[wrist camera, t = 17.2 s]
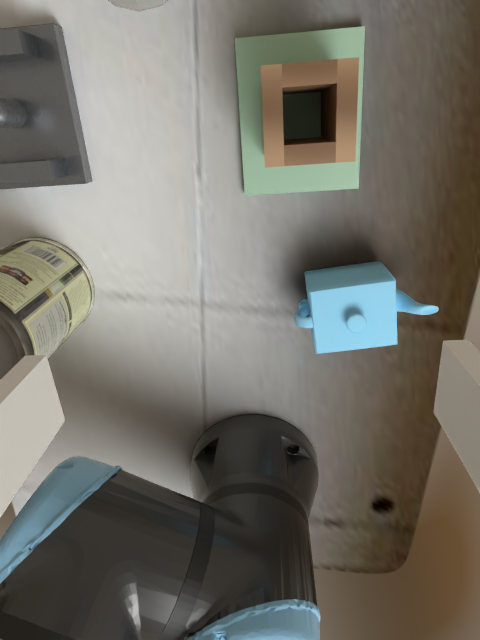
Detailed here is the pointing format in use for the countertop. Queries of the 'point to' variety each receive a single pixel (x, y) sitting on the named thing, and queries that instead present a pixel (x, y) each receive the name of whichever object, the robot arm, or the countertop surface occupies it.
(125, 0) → the french press
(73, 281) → the coffee can
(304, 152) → the sleeve
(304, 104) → the board
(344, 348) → the teapot
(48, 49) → the peg stand
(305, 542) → the robot arm
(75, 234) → the countertop surface
